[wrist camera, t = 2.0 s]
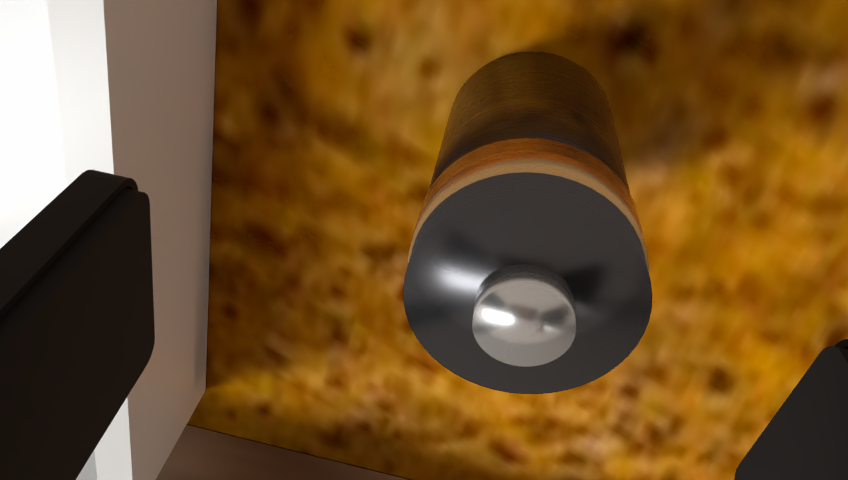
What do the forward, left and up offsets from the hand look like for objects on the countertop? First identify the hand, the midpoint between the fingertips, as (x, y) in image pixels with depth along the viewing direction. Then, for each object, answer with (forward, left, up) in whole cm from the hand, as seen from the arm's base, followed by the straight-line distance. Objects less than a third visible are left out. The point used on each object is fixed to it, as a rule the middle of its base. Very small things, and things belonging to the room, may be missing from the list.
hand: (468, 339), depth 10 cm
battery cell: (-1, 0, -9) cm, 9 cm away
